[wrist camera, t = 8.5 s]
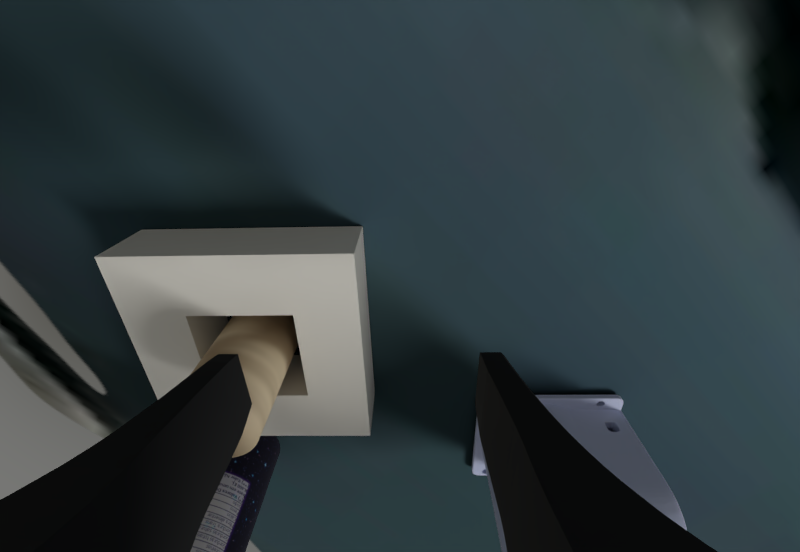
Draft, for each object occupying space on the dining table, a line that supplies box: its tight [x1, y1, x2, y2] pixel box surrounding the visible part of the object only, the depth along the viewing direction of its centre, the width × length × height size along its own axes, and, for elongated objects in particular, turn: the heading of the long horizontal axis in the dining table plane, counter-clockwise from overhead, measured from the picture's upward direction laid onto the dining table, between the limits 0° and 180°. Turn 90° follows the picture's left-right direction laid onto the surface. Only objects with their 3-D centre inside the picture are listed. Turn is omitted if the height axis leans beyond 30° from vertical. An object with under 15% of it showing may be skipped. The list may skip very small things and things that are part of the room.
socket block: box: [94, 226, 375, 436], centre depth 22 cm, size 12×12×4 cm
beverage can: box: [190, 436, 280, 552], centre depth 23 cm, size 6×6×12 cm
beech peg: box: [190, 315, 298, 458], centre depth 20 cm, size 4×4×8 cm
